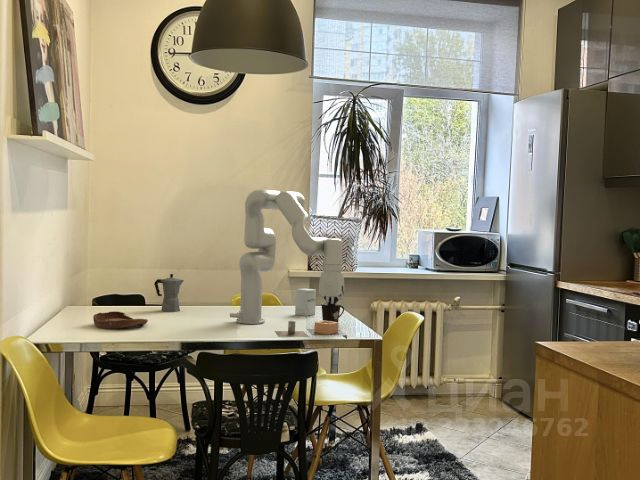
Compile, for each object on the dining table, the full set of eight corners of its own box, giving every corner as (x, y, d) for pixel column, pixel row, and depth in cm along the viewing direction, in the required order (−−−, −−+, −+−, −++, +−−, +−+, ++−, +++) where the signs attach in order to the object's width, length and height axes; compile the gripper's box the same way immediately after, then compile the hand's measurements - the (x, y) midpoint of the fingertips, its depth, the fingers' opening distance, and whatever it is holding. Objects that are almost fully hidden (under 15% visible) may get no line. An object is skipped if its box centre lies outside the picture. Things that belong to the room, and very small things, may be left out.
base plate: (312, 338, 265) (312, 326, 264) (306, 332, 278) (306, 320, 278) (346, 338, 267) (347, 326, 267) (339, 332, 281) (339, 320, 281)
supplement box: (306, 316, 324) (307, 290, 323) (294, 314, 328) (295, 288, 328) (315, 314, 330) (316, 289, 329) (303, 313, 334) (304, 287, 334)
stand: (278, 340, 259) (278, 323, 259) (274, 334, 271) (275, 318, 270) (308, 340, 261) (309, 323, 261) (303, 334, 273) (304, 319, 273)
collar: (328, 334, 268) (329, 324, 268) (314, 332, 272) (314, 322, 272) (338, 332, 274) (338, 322, 274) (323, 329, 278) (324, 320, 277)
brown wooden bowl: (157, 325, 283) (157, 314, 283) (128, 333, 264) (129, 320, 264) (113, 321, 291) (113, 309, 291) (82, 327, 272) (82, 315, 272)
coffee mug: (323, 328, 291) (324, 305, 291) (318, 324, 299) (319, 302, 299) (348, 327, 294) (349, 305, 294) (342, 324, 303) (343, 302, 302)
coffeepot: (178, 308, 334) (179, 272, 333) (187, 311, 326) (188, 274, 326) (149, 310, 324) (150, 273, 323) (158, 313, 317) (159, 275, 316)
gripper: (312, 267, 275) (311, 312, 276) (343, 270, 267) (341, 315, 267) (322, 267, 281) (321, 310, 282) (352, 269, 273) (351, 314, 274)
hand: (331, 312), depth 275 cm, fingers closed
